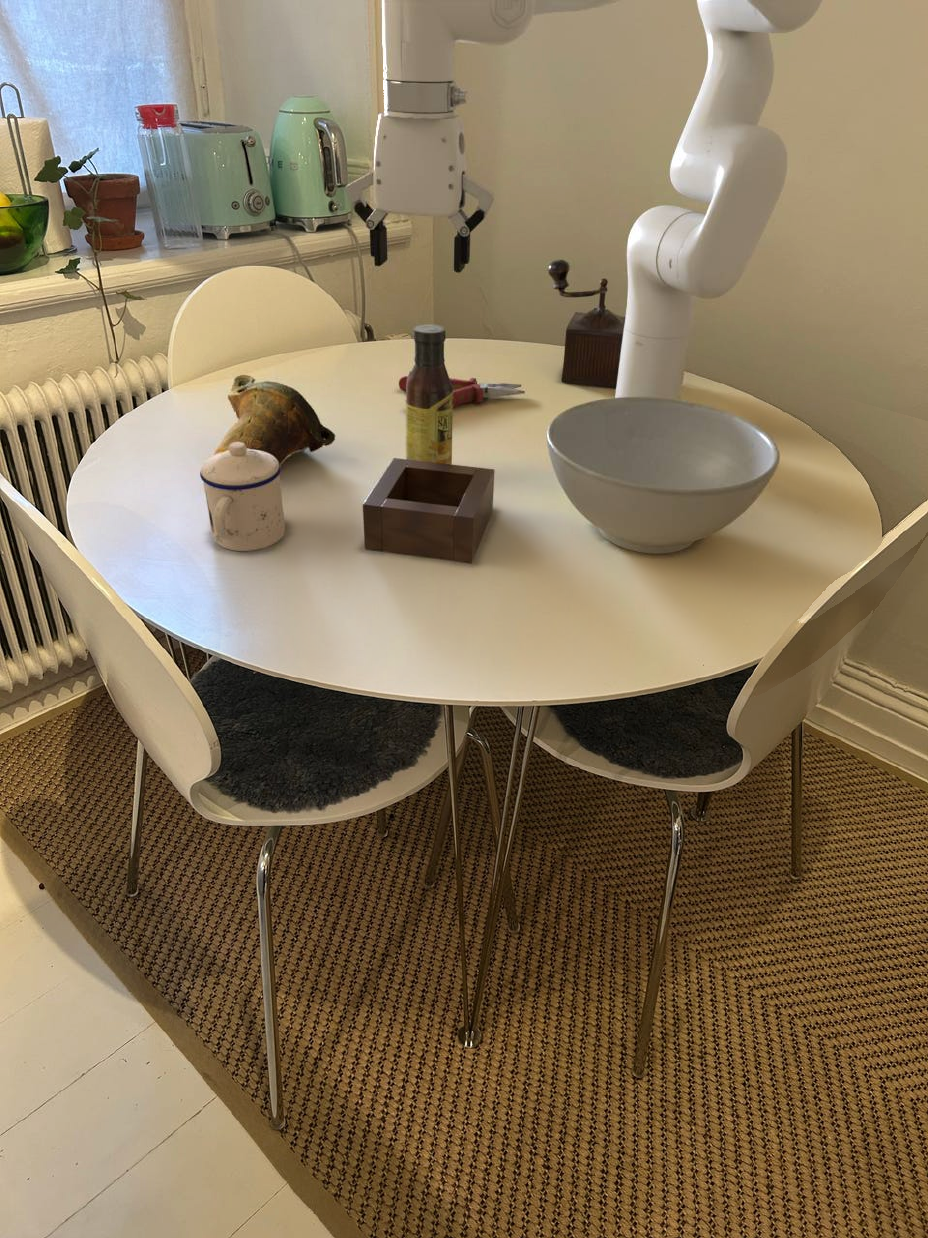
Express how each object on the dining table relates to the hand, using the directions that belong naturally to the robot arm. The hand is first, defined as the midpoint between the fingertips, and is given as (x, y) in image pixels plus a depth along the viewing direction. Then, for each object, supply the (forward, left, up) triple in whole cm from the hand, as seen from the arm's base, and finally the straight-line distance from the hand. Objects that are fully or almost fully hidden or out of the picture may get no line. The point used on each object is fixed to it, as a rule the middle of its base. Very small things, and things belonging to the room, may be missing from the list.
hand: (420, 266), depth 104 cm
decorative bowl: (-31, +7, -28) cm, 42 cm away
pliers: (+1, -28, -28) cm, 39 cm away
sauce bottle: (-1, -1, -28) cm, 28 cm away
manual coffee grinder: (-17, -47, -28) cm, 57 cm away
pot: (+22, 0, -28) cm, 35 cm away
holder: (-5, +14, -27) cm, 31 cm away
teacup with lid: (+16, +22, -28) cm, 39 cm away
